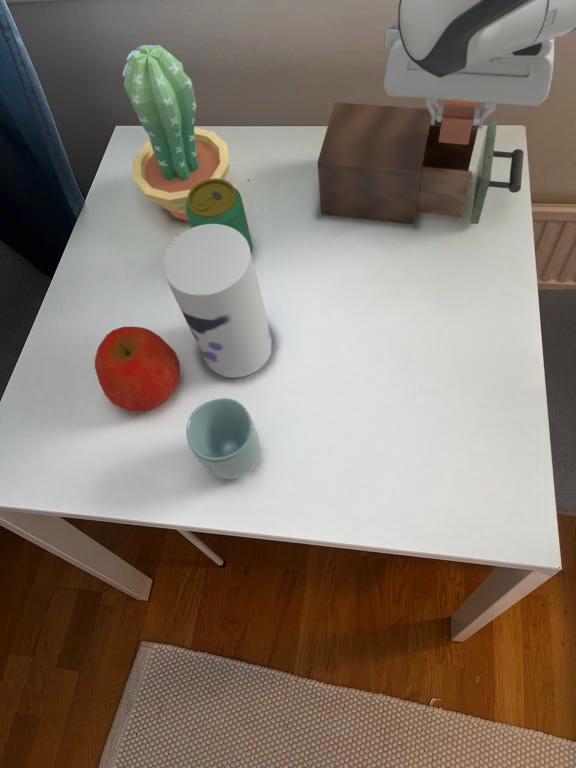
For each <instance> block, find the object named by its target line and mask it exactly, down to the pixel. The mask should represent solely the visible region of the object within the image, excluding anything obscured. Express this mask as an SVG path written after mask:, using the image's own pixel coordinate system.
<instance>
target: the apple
mask: <svg viewBox="0 0 576 768" xmlns="http://www.w3.org/2000/svg"><path fill="white" fill-rule="evenodd" d="M180 364H181V363H180V360H179V358H178V355H177V352H176V351H175V349H173V348H172V347H171V346H170V344H169V343H167V342H166V341H165V340H164V339H163V338H162V337H161V336H160V335H159V334H157V333H155V332H154V331H152V330H151V329H148V328H145V327H142V326H121V327H119V328H115V329H112V330H111V331H109V332H108V333H107V334H106V335H105V336H104V338H103V339H102V341H101V342H100V344H99V345H98V346H97V350H96V354H95V358H94V369H95V373H96V377H97V379H98V383H99V385H100V388H101V390H102V392H103V394H104V396H106V398H108V400H109V401H110V402H111V403H112V404H113V405H114V406H117V407H119V408H120V409H123V410H125V411H127V412H135V413H136V412H138V413H145V412H148V411H151V410H154V409H156V408H158V407H161V406H162V405H163V404H164V403H166V401H167V400H168V399H169V398H170V397H171V396H172V395H173V394H174V393H175V391H176V389H177V388H178V387H177V386H178V383H179V382H178V381H179V377H180V373H181V366H180Z"/></svg>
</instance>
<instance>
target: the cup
mask: <svg viewBox="0 0 576 768" xmlns="http://www.w3.org/2000/svg"><path fill="white" fill-rule="evenodd" d="M185 435H186V440H187V444H188V447H189V448H190V450H191V452H192V454H193V455H194V456H195V459H197V461H198V462H199V463H200V464H201V465H202V467H203V468H204V469H205V470H206V471H207V472H209V473H210V474H211V475H212V476H214V477H216V478H219V479H222V480H223V479H224V480H234V479H239V478H241V477H245V476H246V475H248V474H249V473H251V471H253V470H254V468H255V467H256V466H257V464H258V461H259V458H260V451H261V449H260V448H261V446H260V440H259V439H260V438H259V435H258V432H257V429H256V426H255V424H254V421H253V418H252V416H251V415H250V412H249V411H248V409H247V408H246V407H245V406H244V405H243V404H242V403H241V402H239V401H238V400H235V399H232V398H226V397H224V398H223V397H221V398H215V399H210V400H208V401H206V402H203V403H202V404H200V405H199V406H197V407H196V408H195V409H194V410H193V411H192V413H190V415H189V417H188V419H187V421H186V429H185Z"/></svg>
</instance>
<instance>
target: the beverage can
mask: <svg viewBox="0 0 576 768" xmlns="http://www.w3.org/2000/svg"><path fill="white" fill-rule="evenodd" d="M185 209H186V213H187V216H188V219H189V220H188V222H189V224H190V227H191V228H193V227H196V226H199V225H205V224H221V225H225V226H229V227H231V228H233V229H235V230H237V231H238V232H240V233H241V234H242V235H243V236H244V238H245V239H246V241H247V242H248V245H249V248H250V252H251V254H252V253H253V250H254V247H253V246H254V245H253V240H252V235H251V232H250V228H249V223H248V220H247V215H246V214H247V213H246V210H245V206H244V202H243V197H242V195H241V193H240V191H239V189H237V188H236V187H235V186H234V185H233V184H232V183H231V182H229V181H227V180H225V179H224V180H222V179H208V180H205V181H202V182H200V183H198V184H197V185H195V186H194V187H193V188H192V189H191V191H190V192H189V194H188V197H187V202H186V207H185Z"/></svg>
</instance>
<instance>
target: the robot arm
mask: <svg viewBox="0 0 576 768" xmlns="http://www.w3.org/2000/svg"><path fill="white" fill-rule="evenodd" d="M397 13H398V14H397V21H395V22H392V23H390V24H389V25H388V26H387V27H386V29H385V31H384V36H383V37H384V39H383V47H384V50H385V52H386V54H387V55H388V58H387V62H386V67H385V72H384V79H383V90H384V92H385V93H386V94H387V95H388V96H389V97H392V98H393V97H394V98H409V99H425V101H424V105H425V107H426V109H428V110H429V112H430V114H431V115H432V117H431V125H441V123H442V116H443V111H444V106H439V104H438V102H437V100H439V101H441V100H442V101H445V100H453V101H469V102H476V103H484V104H483V106H482V107H481V108H480V109H479V108H475V113H474V120H473V125H472V128H478V129H480V130H481V129H483V126H484V123H485V119H487V118H488V117H489V116H490V115H491V114H492V113H493V112H495V110H496V109H497V105H498V104H500V105H515V106H516V105H517V106H528V107H529V106H531V107H537V106H539V105H541V104H542V103H544V102H545V101H546V100H547V99H548V96H549V94H550V89H551V85H552V79H553V74H554V73H553V72H554V62H555V39H556V38H560V37H562V36H565V35H566V34H569V33H572V32H574V31H575V30H576V0H399V3H398V12H397Z"/></svg>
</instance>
